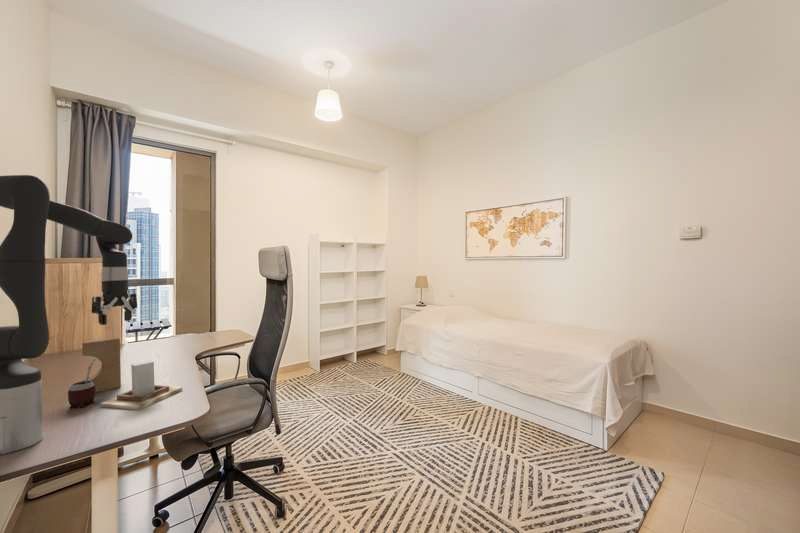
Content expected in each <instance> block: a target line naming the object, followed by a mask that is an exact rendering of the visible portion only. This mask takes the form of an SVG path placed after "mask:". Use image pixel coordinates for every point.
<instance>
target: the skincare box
mask: <svg viewBox="0 0 800 533" xmlns="http://www.w3.org/2000/svg"><path fill="white" fill-rule="evenodd" d="M130 366H131V367H130V368H131V369H130V370H131V390H132V395H133V396H144V395H147V394H149V393H151V392H154V391H155V386H154V385H155V362H154V361H153V360H150V359H149V360H146V361H140V362H139V361H138V362H134V363H131V365H130Z"/></svg>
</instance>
